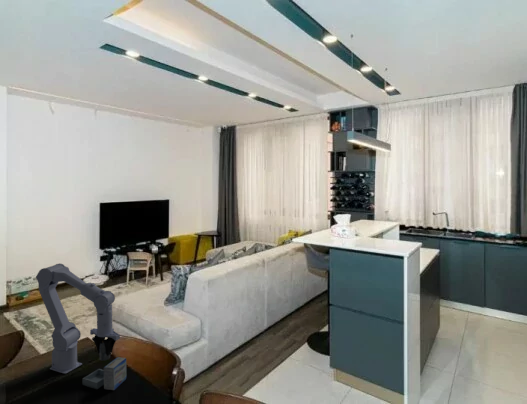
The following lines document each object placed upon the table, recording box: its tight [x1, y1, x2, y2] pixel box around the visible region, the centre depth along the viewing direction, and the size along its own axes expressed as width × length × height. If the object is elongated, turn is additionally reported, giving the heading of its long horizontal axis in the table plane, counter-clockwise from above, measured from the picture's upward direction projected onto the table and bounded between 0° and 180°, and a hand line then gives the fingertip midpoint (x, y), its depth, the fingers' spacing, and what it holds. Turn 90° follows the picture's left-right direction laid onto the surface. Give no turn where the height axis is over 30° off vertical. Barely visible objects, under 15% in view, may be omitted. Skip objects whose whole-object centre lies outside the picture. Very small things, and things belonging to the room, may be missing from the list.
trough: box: [82, 368, 104, 390], centre depth 127 cm, size 8×8×2 cm
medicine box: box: [103, 356, 127, 391], centre depth 126 cm, size 8×4×9 cm, turn 168°
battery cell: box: [99, 338, 111, 362], centre depth 136 cm, size 4×4×8 cm
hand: (104, 353), depth 136 cm, fingers closed on battery cell, 4 cm apart
